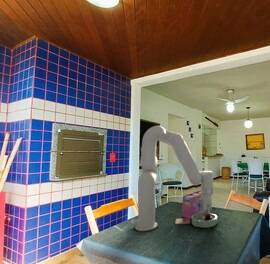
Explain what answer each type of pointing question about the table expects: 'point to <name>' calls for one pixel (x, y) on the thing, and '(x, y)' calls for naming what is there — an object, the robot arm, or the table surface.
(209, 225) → the bowl
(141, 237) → the table surface
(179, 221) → the coaster
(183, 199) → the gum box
